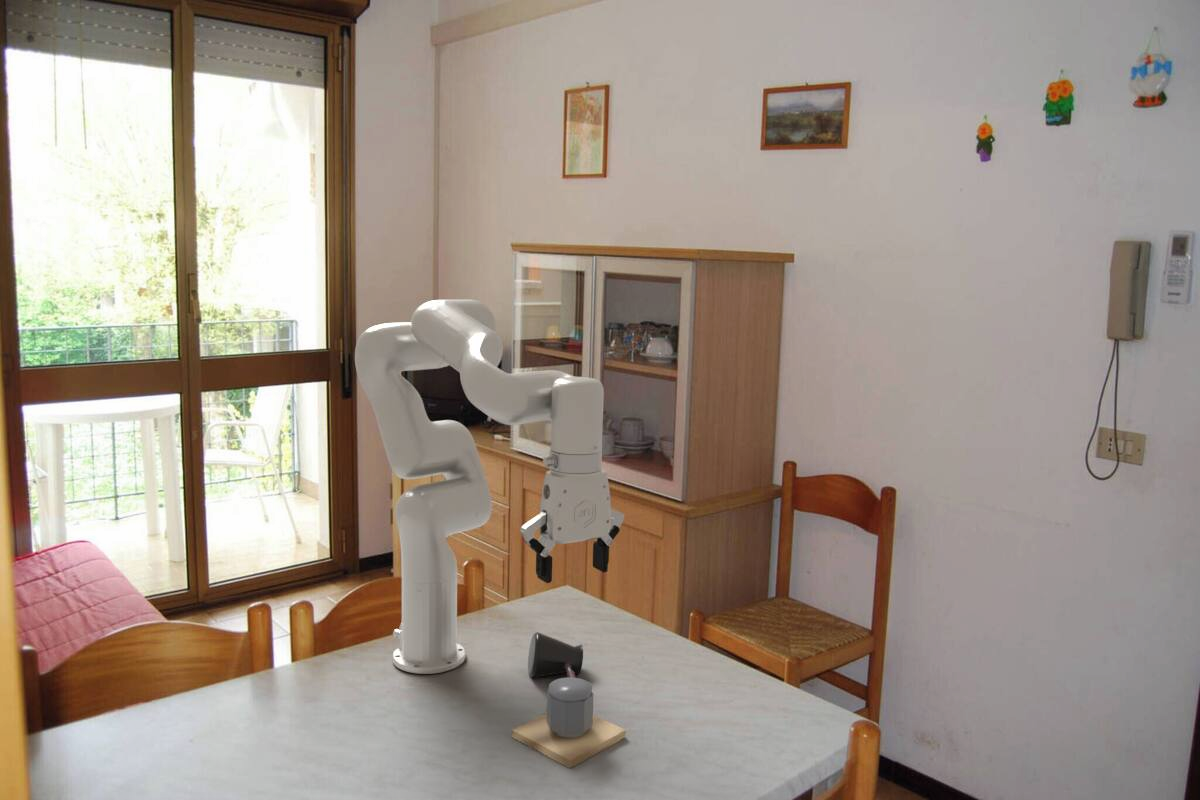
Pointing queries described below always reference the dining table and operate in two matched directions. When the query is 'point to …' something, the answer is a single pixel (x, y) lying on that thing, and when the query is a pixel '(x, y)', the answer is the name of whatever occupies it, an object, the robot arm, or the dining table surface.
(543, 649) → the coffee pot
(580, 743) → the plate with round knob
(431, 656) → the robot arm
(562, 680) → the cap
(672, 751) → the dining table surface
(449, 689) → the dining table surface
